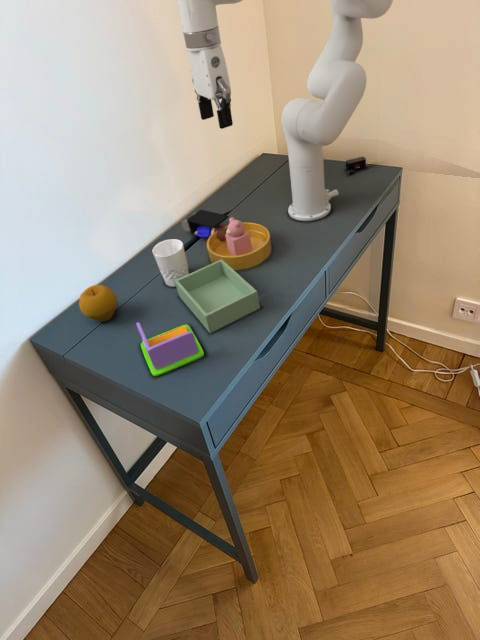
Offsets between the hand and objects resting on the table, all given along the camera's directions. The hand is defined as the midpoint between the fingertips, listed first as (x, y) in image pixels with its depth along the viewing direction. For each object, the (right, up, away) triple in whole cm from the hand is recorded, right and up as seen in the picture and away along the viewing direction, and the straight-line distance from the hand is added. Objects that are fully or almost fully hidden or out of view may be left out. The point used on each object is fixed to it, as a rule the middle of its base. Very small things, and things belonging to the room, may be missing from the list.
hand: (216, 122), depth 108 cm
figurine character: (-4, -22, +27) cm, 35 cm away
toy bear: (+6, -28, +18) cm, 34 cm away
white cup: (-11, -36, +14) cm, 40 cm away
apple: (-28, -46, +7) cm, 54 cm away
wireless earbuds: (+44, +3, +45) cm, 63 cm away
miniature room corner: (-10, -53, -6) cm, 55 cm away
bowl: (+6, -28, +18) cm, 34 cm away
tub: (0, -42, +4) cm, 42 cm away
